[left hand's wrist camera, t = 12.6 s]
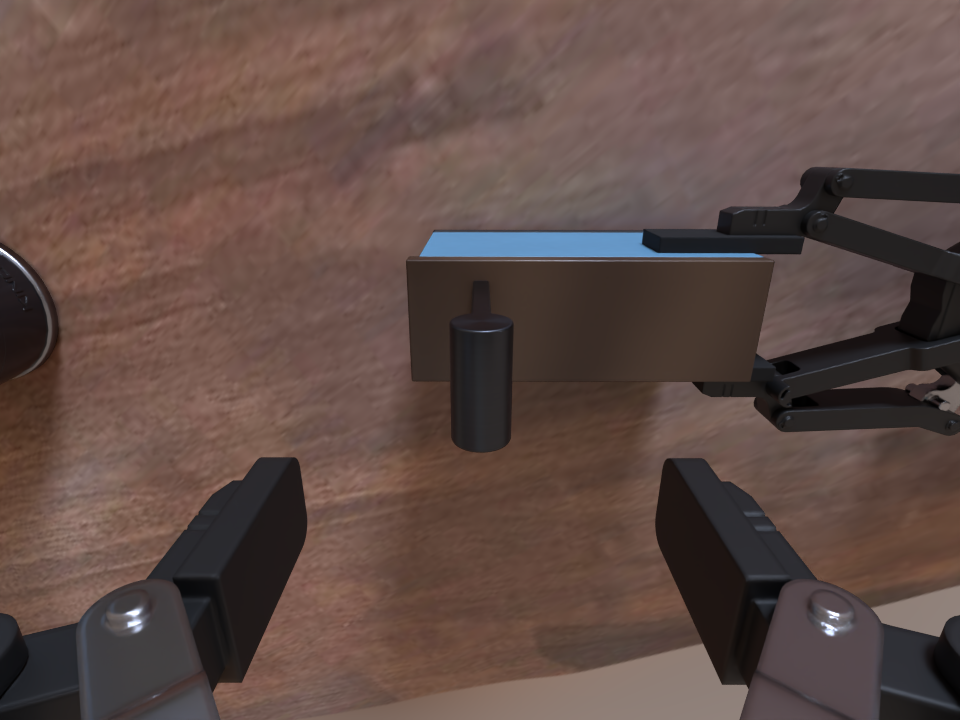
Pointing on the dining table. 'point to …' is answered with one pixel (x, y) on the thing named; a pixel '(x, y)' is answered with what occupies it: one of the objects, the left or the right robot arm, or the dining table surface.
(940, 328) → the right robot arm
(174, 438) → the dining table surface
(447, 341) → the lid
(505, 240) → the chest
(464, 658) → the dining table surface
